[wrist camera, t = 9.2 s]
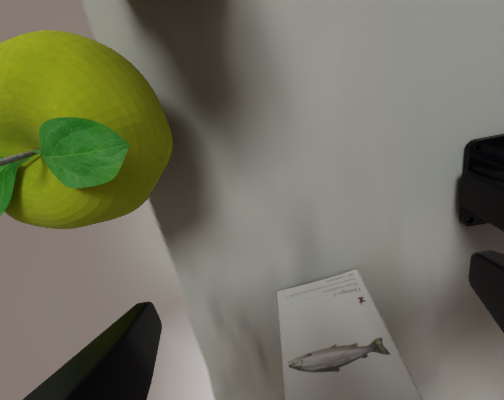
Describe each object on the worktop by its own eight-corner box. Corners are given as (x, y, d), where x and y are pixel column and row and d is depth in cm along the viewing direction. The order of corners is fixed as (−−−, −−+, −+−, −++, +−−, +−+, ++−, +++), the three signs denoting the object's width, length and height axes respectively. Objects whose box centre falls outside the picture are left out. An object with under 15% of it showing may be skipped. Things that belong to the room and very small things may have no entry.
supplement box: (357, 265, 23) (458, 451, 11) (375, 327, 26) (470, 530, 14) (273, 288, 24) (286, 478, 12) (298, 345, 27) (328, 546, 15)
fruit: (207, 169, 20) (162, 242, 11) (93, 199, 21) (-34, 287, 12) (158, 28, 17) (33, -39, 7) (26, 73, 18) (-222, 62, 9)
